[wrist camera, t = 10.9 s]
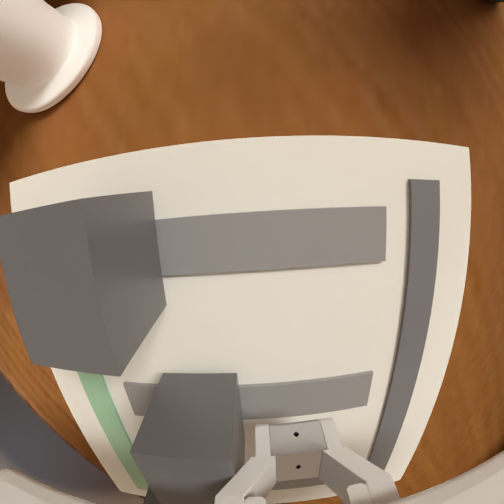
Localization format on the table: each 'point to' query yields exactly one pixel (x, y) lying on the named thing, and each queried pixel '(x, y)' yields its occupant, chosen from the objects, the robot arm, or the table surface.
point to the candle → (45, 50)
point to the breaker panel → (287, 287)
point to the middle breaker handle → (191, 437)
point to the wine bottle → (496, 1)
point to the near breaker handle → (84, 280)
